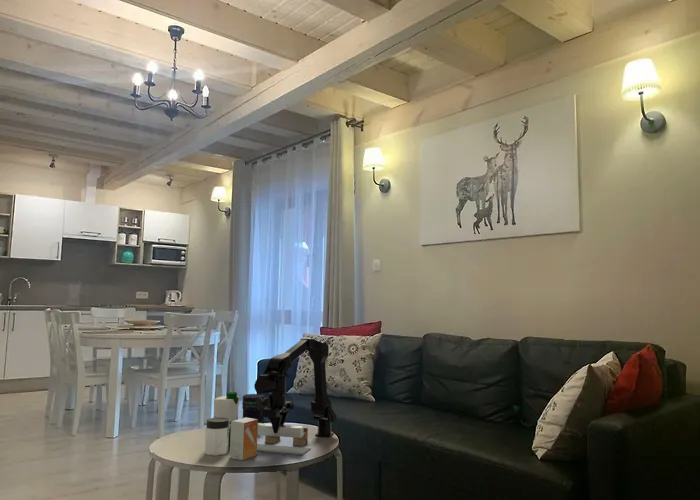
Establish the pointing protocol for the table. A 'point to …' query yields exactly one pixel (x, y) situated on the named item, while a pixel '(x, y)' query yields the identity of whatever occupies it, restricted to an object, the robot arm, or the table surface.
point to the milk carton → (227, 408)
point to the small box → (243, 438)
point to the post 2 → (301, 440)
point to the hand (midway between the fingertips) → (277, 432)
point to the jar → (217, 436)
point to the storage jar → (252, 407)
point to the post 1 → (271, 439)
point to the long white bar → (280, 430)
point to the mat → (281, 449)
